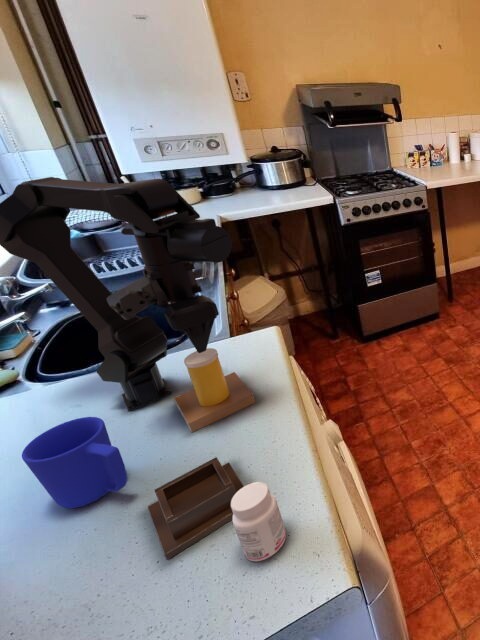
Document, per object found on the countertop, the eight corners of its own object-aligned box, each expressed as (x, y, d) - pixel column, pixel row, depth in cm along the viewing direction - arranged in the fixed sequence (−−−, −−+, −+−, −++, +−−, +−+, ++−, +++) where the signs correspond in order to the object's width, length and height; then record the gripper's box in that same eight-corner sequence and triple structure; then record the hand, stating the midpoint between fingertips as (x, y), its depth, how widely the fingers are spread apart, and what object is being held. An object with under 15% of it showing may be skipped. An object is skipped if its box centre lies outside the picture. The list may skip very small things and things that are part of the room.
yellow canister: (195, 398, 79) (180, 356, 75) (225, 385, 82) (212, 345, 79) (203, 410, 76) (188, 367, 72) (233, 397, 79) (220, 355, 76)
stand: (149, 511, 60) (140, 490, 59) (230, 466, 67) (223, 446, 65) (167, 560, 54) (156, 538, 52) (254, 505, 61) (247, 484, 59)
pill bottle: (276, 519, 59) (262, 472, 55) (293, 540, 56) (279, 492, 53) (238, 546, 55) (220, 498, 52) (253, 571, 52) (236, 521, 49)
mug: (105, 526, 58) (76, 470, 54) (36, 511, 60) (3, 456, 57) (162, 476, 66) (140, 423, 62) (99, 464, 68) (74, 412, 64)
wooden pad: (176, 406, 80) (173, 397, 79) (237, 380, 87) (234, 371, 86) (191, 432, 74) (188, 423, 73) (255, 402, 81) (252, 393, 80)
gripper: (92, 260, 71) (125, 342, 76) (111, 292, 59) (148, 387, 65) (175, 242, 78) (199, 318, 84) (205, 267, 67) (232, 354, 72)
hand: (194, 342), depth 76 cm, fingers open, 9 cm apart
